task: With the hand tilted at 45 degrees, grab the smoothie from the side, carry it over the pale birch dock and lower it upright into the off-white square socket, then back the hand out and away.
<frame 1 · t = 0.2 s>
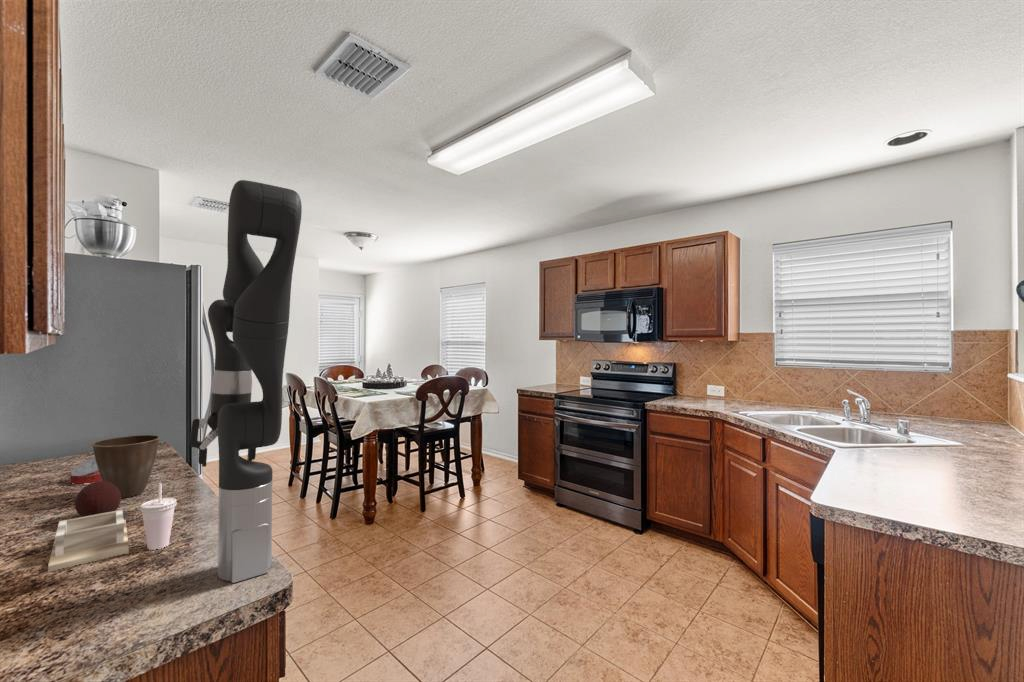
hand: (227, 463, 100), 18 cm above the counter, tool pointing down, fingers open, 8 cm apart
smoothie: (158, 547, 99), on the counter
dock: (91, 545, 99), on the counter
canned food: (91, 481, 146), on the counter
plant pot: (126, 495, 132), on the counter
potato: (98, 518, 115), on the counter
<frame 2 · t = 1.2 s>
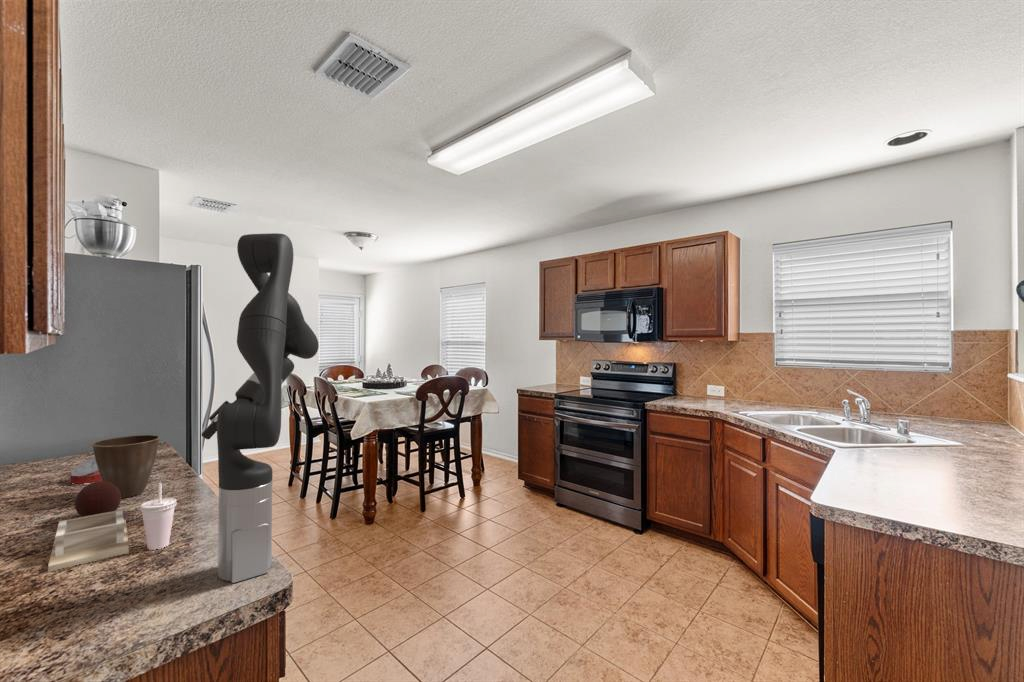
hand: (214, 439, 110), 21 cm above the counter, tool tilted 45°, fingers open, 8 cm apart
nothing on the counter moved.
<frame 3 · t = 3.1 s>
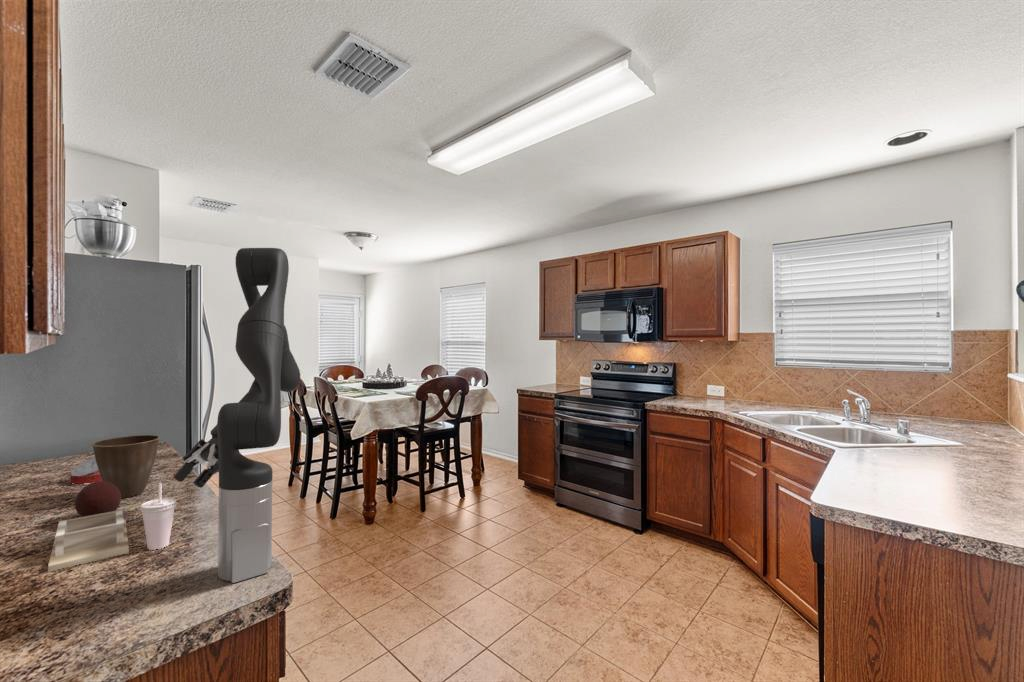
hand: (186, 482, 104), 12 cm above the counter, tool tilted 45°, fingers open, 8 cm apart
nothing on the counter moved.
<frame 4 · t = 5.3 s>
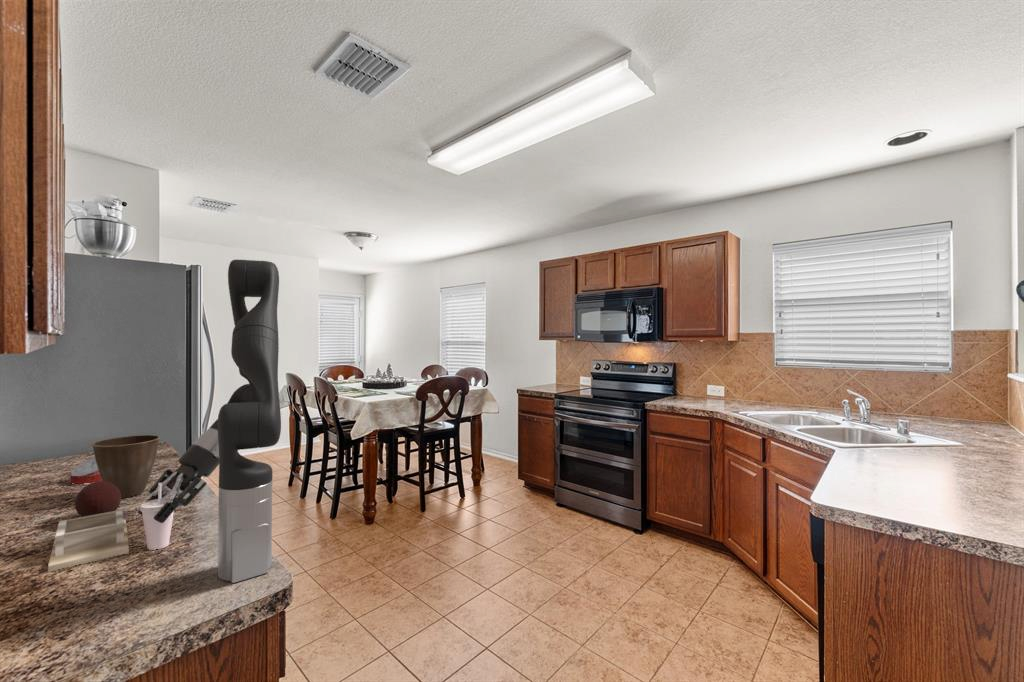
hand: (149, 517, 98), 7 cm above the counter, tool tilted 45°, fingers closed on smoothie, 6 cm apart
smoothie: (158, 547, 99), on the counter, touching gripper
everything else where it was.
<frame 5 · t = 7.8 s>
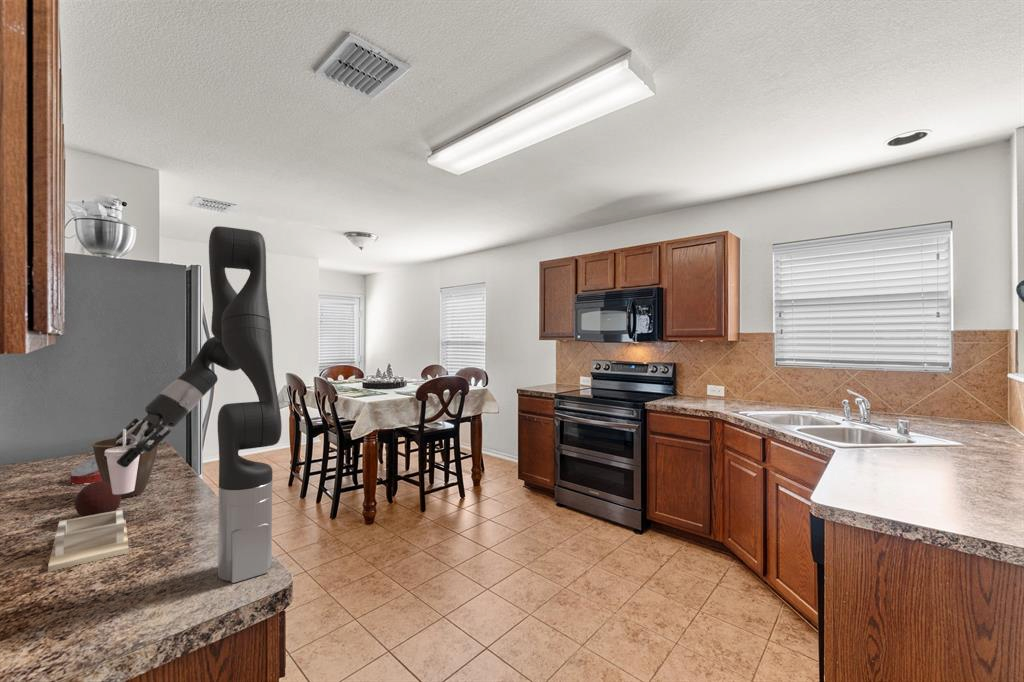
hand: (113, 462, 99), 18 cm above the counter, tool tilted 45°, fingers closed on smoothie, 6 cm apart
smoothie: (123, 492, 101), point 11 cm above the counter, touching gripper
everything else where it was.
when the fingers open (9 cm above the counter, at t = 10.4 s): smoothie drops 1 cm, resting on dock.
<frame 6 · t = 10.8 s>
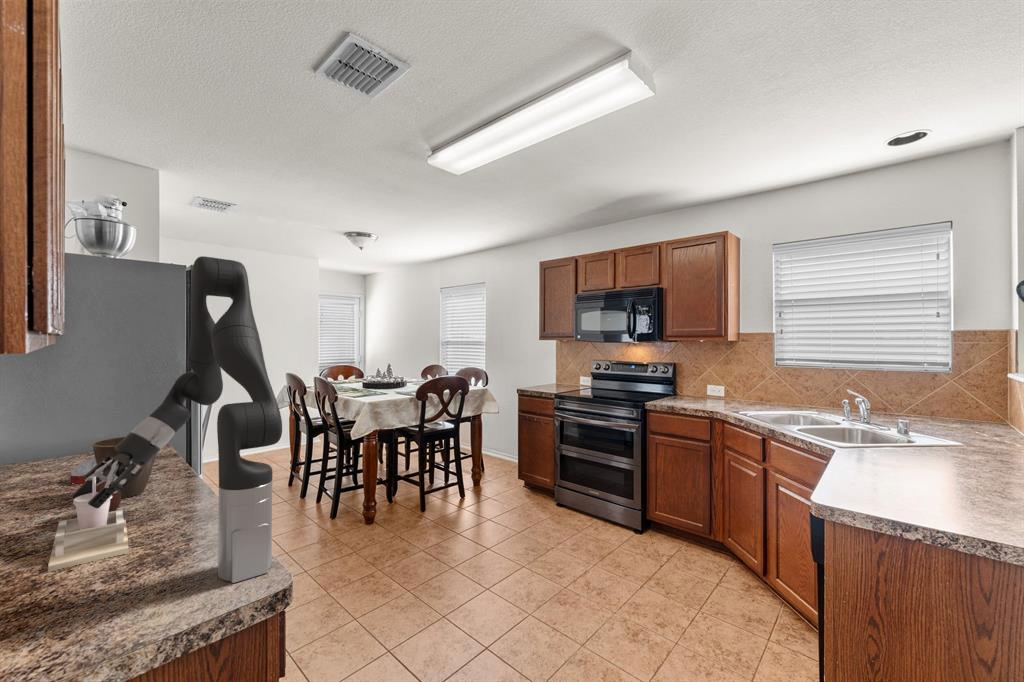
hand: (83, 502, 98), 10 cm above the counter, tool tilted 45°, fingers open, 8 cm apart
smoothie: (93, 540, 100), point 1 cm above the counter, touching dock
everything else where it was.
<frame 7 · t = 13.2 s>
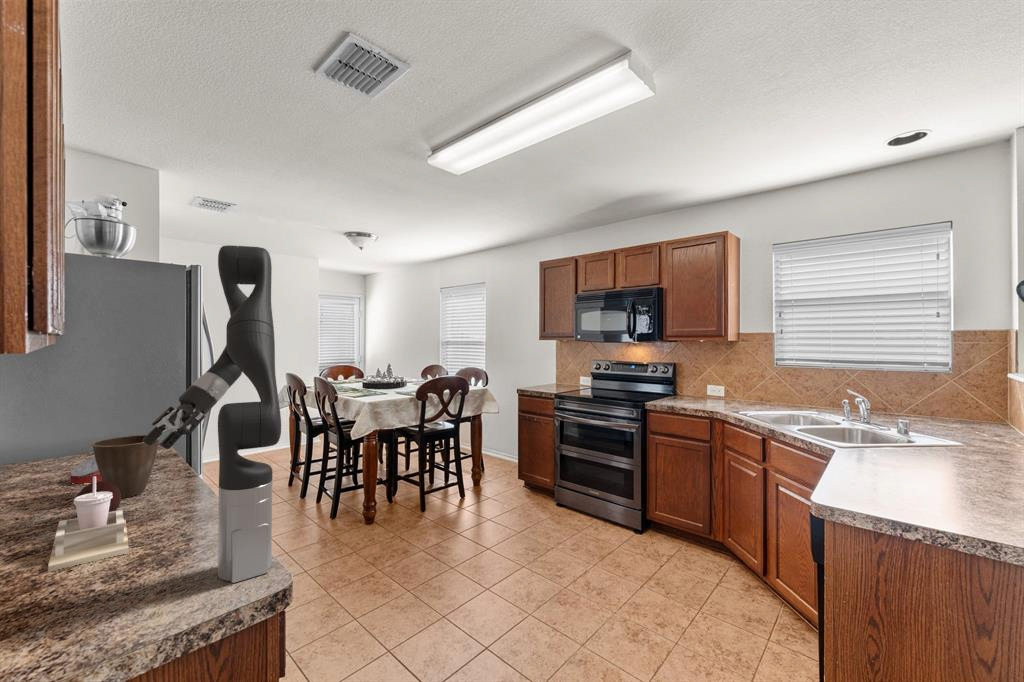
hand: (154, 445, 110), 20 cm above the counter, tool tilted 45°, fingers open, 8 cm apart
nothing on the counter moved.
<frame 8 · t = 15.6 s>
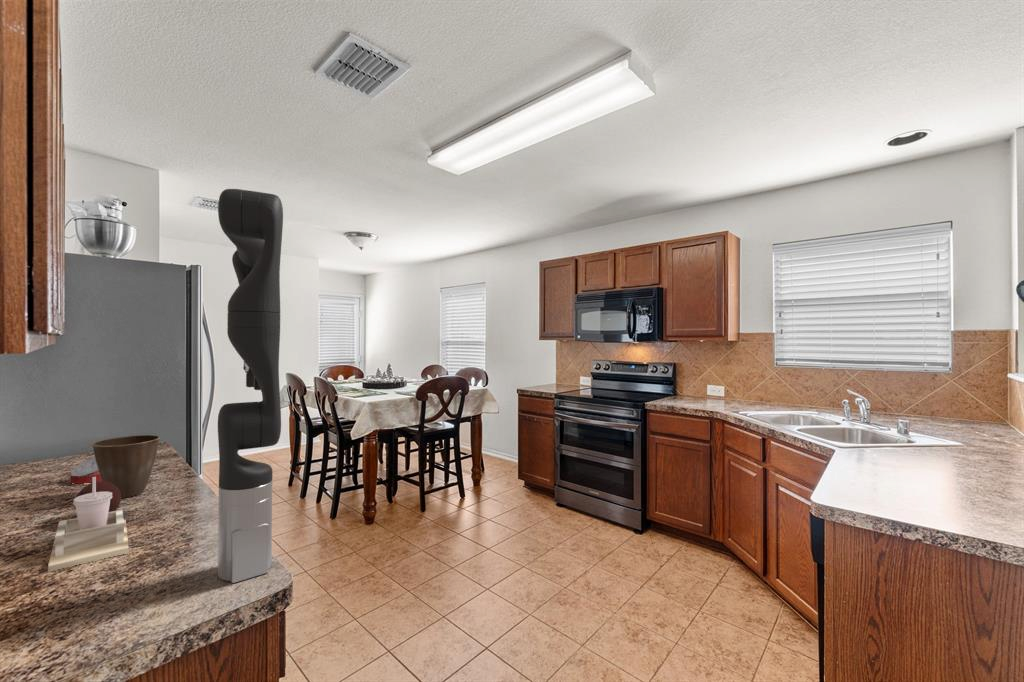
hand: (254, 388, 117), 33 cm above the counter, tool pointing down, fingers open, 8 cm apart
nothing on the counter moved.
at the end: smoothie 0.3 cm off-centre on the dock, point 1.0 cm above the dock's base; smoothie tilted 0°; the gripper is holding nothing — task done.
